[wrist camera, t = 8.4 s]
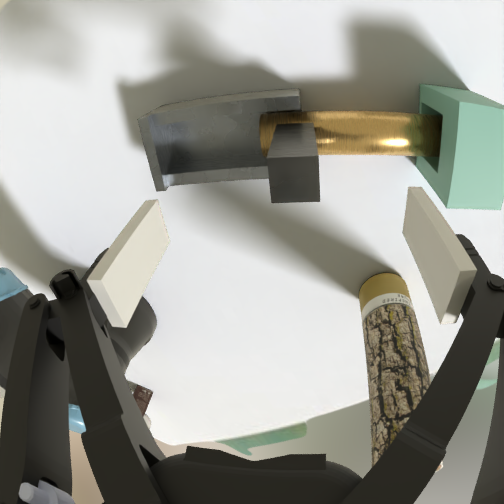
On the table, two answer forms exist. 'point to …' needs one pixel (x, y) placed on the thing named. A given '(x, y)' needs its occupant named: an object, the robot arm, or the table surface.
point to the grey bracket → (211, 137)
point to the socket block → (465, 148)
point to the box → (142, 398)
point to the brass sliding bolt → (337, 144)
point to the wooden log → (391, 358)
